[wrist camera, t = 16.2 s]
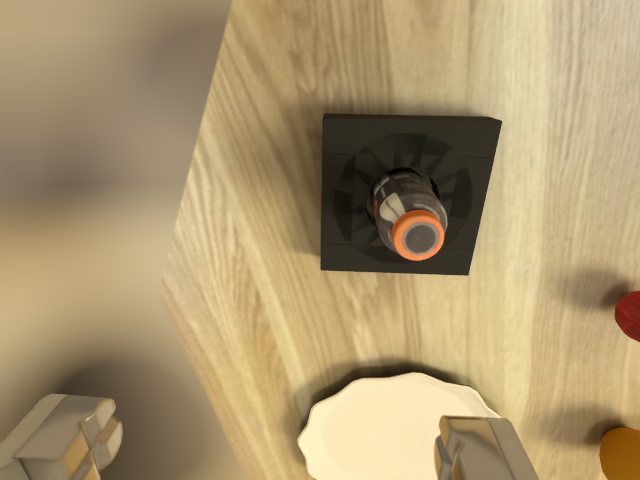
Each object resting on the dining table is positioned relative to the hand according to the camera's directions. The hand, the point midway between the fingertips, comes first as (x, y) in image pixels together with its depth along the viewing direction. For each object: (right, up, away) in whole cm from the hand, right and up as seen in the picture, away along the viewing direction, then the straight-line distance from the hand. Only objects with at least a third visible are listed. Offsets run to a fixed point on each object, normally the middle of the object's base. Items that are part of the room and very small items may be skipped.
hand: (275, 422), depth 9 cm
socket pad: (+9, +9, +29) cm, 32 cm away
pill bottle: (+9, +10, +30) cm, 33 cm away
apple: (+44, -23, +43) cm, 66 cm away
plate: (+13, -25, +46) cm, 54 cm away
